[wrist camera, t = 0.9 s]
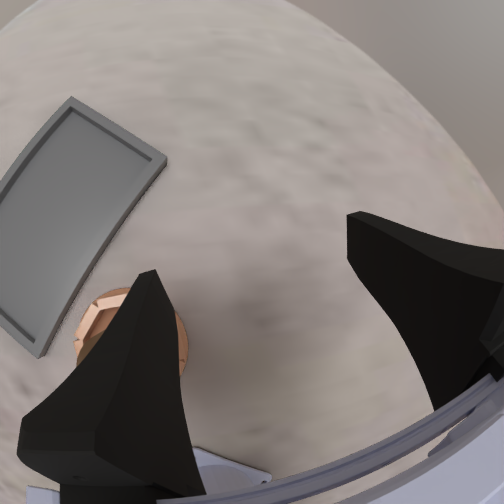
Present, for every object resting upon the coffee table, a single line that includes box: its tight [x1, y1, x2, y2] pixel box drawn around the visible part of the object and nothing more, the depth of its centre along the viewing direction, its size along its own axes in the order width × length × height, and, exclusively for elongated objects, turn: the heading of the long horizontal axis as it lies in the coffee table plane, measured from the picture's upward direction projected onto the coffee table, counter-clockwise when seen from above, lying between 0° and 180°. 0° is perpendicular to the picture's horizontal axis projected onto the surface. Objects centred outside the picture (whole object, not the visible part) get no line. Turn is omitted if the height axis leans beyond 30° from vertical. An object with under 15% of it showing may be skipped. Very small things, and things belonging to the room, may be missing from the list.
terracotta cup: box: [73, 288, 188, 376], centre depth 19 cm, size 8×8×2 cm
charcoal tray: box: [0, 96, 167, 359], centre depth 19 cm, size 18×11×2 cm, turn 149°
